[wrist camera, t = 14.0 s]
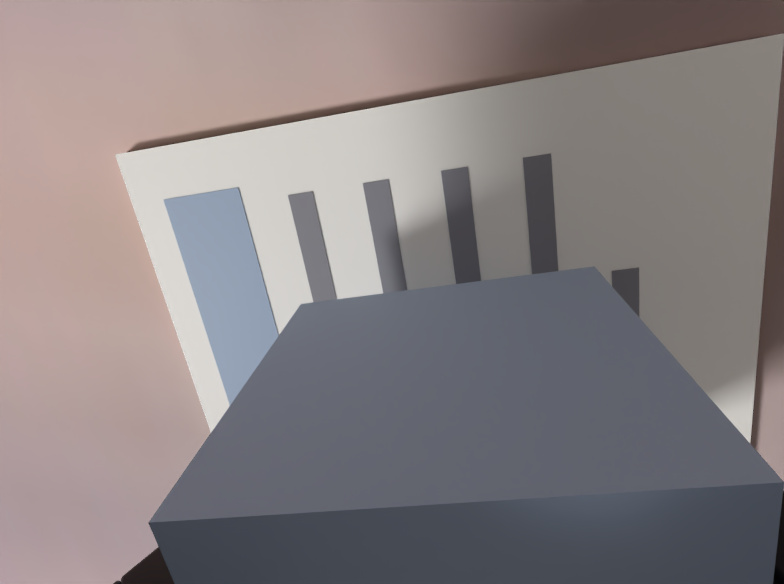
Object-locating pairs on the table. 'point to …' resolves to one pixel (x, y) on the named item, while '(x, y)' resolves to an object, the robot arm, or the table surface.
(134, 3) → the table surface
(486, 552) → the slate-blue cube
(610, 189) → the letter
